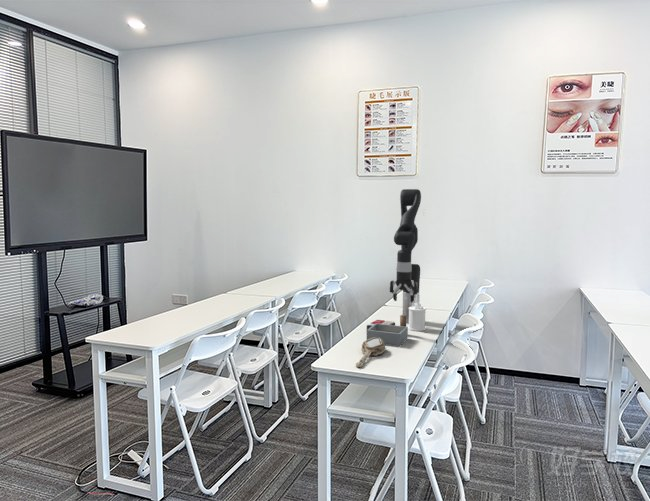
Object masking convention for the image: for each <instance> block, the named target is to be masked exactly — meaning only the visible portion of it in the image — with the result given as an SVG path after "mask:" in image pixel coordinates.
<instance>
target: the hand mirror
mask: <svg viewBox="0 0 650 501" xmlns="http://www.w3.org/2000/svg"><path fill="white" fill-rule="evenodd" d="M385 345H386V344H384V342H383V340H382V339H380V338H376V337H373V338H370V339H368V340H367V339H366V340H364V341H363V342H362V344H361V348H360V350H361V352H362V353H363V356H362V357H361V358H360V359H359V360H358V361H357V362H356V363H355V367H356V368H358V367H360V368H362V367H364V363H366V361H367V360H368V359H367V358H369V357H372V356H375V357H376V356H378V355H382V354H383V353H384V352H385V350H387V349H386V348H387V347H386V346H385Z"/></svg>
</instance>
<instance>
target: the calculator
mask: <svg viewBox="0 0 650 501" xmlns="http://www.w3.org/2000/svg"><path fill="white" fill-rule="evenodd" d="M375 323H377V324H386V325H395V326H396V322H395V321H392V320H382V319H375V320H373V321H372V322H370V323H369V324H367V325H366V331H367V330H368V329H369V328H370V327H371V326H373V325H374V324H375Z"/></svg>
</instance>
